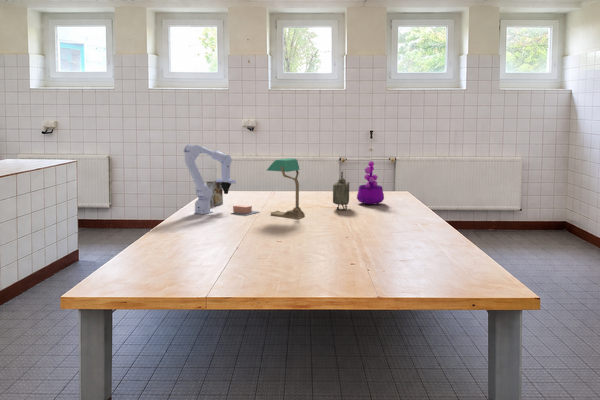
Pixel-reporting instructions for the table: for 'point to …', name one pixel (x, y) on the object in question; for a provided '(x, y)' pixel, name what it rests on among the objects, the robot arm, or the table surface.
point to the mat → (245, 214)
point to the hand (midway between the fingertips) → (226, 193)
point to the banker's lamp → (288, 166)
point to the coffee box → (215, 193)
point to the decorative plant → (370, 188)
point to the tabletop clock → (341, 192)
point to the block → (242, 209)
